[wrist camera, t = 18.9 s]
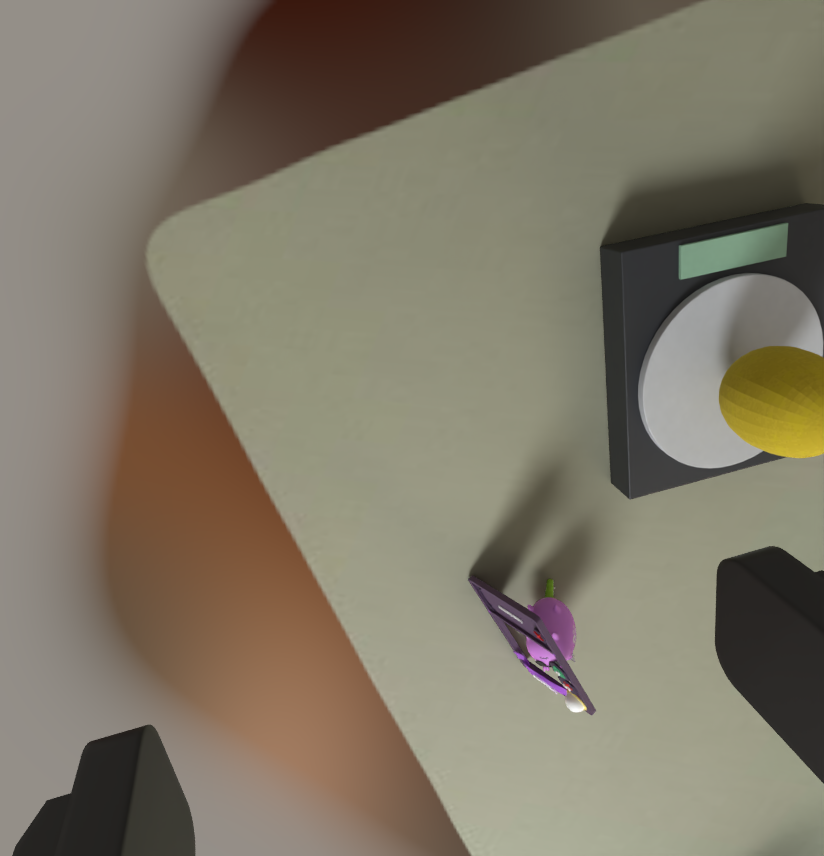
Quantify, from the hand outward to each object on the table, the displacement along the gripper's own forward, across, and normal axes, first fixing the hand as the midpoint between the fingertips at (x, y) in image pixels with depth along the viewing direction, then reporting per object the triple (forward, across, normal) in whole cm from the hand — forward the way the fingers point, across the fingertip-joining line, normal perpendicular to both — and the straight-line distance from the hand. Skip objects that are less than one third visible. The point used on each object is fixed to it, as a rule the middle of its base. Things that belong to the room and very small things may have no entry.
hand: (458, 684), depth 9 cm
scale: (+28, -23, +8) cm, 37 cm away
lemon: (+25, -23, +9) cm, 35 cm away
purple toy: (+28, -10, +23) cm, 38 cm away
